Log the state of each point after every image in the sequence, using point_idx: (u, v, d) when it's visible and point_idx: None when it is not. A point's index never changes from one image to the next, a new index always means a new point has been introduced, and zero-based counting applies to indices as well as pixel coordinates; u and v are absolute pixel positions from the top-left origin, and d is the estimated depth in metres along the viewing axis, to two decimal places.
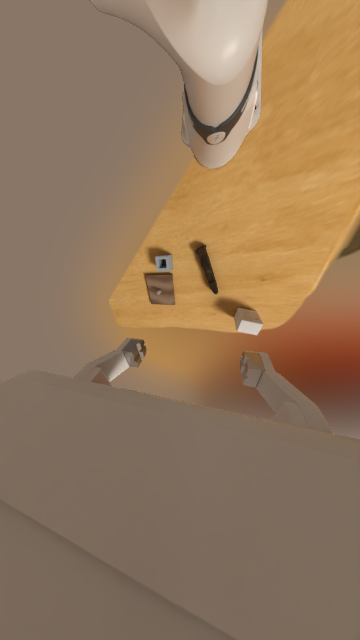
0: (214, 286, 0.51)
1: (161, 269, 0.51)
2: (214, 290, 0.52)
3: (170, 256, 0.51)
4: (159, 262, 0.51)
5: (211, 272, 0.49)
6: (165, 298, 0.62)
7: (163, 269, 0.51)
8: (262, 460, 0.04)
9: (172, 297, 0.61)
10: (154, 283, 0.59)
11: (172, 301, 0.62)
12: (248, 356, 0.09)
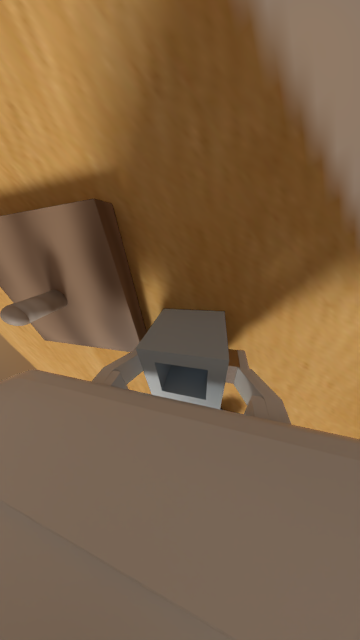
0: None
1: (151, 370, 0.09)
2: None
3: None
4: None
5: None
6: None
7: (153, 378, 0.09)
8: (262, 460, 0.04)
9: (65, 339, 0.16)
10: (75, 270, 0.10)
11: (50, 337, 0.16)
12: None
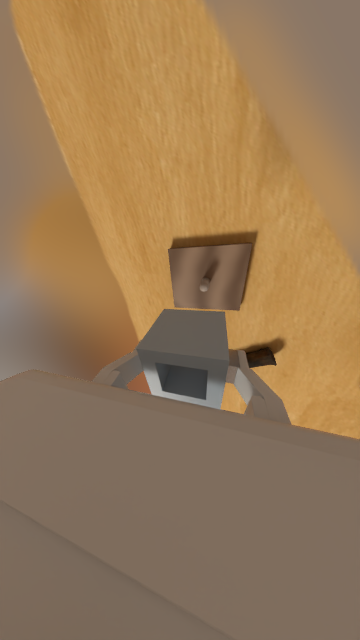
0: None
1: (151, 371, 0.09)
2: None
3: None
4: None
5: None
6: (187, 290, 0.27)
7: (153, 378, 0.09)
8: (262, 460, 0.04)
9: (191, 305, 0.29)
10: (225, 268, 0.23)
11: (181, 304, 0.30)
12: None
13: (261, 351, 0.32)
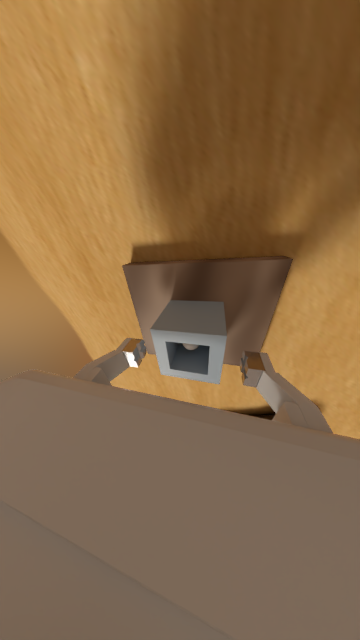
0: None
1: (161, 349, 0.10)
2: None
3: None
4: None
5: None
6: None
7: (163, 357, 0.11)
8: (262, 460, 0.04)
9: None
10: (231, 303, 0.12)
11: None
12: (248, 356, 0.09)
13: None
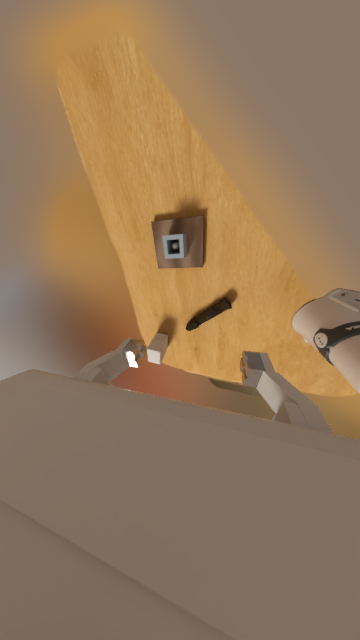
0: (193, 327, 0.48)
1: (165, 244, 0.33)
2: (189, 328, 0.49)
3: None
4: None
5: (206, 320, 0.46)
6: None
7: (165, 248, 0.34)
8: (262, 460, 0.04)
9: (169, 266, 0.41)
10: (189, 234, 0.35)
11: (162, 265, 0.41)
12: (248, 356, 0.09)
13: (221, 301, 0.43)
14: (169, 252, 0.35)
